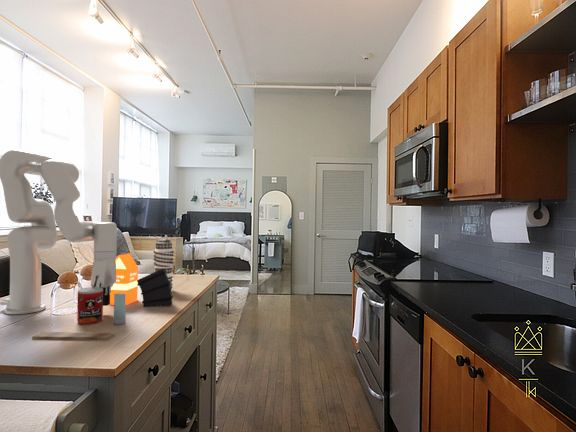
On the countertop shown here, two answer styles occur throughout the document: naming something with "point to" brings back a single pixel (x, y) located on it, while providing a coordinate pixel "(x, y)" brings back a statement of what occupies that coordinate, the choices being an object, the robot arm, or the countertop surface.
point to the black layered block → (156, 289)
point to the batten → (73, 336)
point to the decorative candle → (164, 257)
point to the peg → (119, 308)
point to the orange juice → (125, 279)
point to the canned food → (90, 305)
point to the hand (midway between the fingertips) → (104, 305)
